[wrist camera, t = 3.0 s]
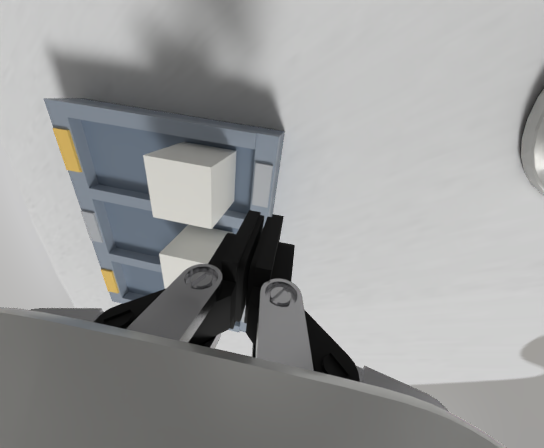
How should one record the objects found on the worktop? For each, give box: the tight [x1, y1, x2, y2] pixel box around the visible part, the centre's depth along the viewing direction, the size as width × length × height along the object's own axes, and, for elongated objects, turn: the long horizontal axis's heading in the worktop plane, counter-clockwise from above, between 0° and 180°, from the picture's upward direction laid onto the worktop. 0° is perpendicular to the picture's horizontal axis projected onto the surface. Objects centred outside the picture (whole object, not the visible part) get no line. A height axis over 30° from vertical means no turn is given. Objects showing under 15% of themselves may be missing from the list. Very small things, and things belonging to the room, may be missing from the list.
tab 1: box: [143, 142, 236, 229], centre depth 15 cm, size 4×4×4 cm
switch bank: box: [44, 98, 285, 332], centre depth 22 cm, size 17×21×3 cm
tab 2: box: [159, 225, 233, 289], centre depth 19 cm, size 4×4×4 cm
